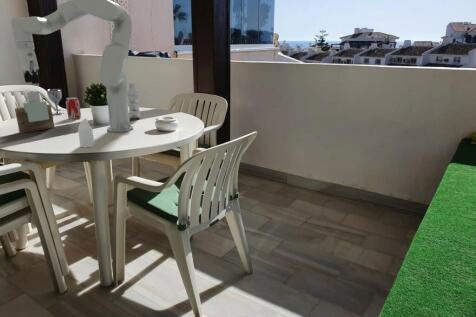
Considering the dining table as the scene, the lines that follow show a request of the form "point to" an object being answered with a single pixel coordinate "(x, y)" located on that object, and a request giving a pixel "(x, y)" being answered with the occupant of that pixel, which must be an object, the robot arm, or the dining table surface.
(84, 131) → the white pointed crystal
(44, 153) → the dining table surface
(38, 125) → the brown boxy piece
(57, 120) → the dining table surface
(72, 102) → the soda can
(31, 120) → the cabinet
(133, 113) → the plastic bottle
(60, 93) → the wine glass
